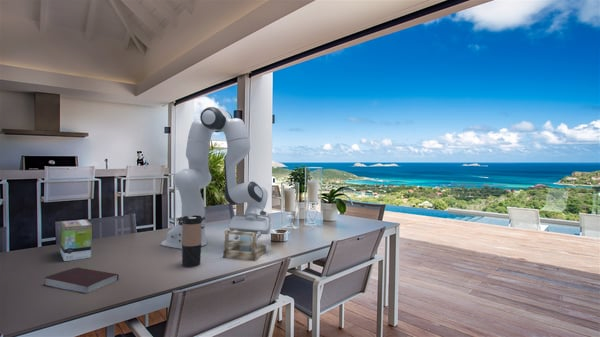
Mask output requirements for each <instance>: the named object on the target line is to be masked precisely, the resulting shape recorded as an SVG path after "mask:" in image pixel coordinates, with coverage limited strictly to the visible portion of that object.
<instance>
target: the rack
mask: <svg viewBox="0 0 600 337" xmlns="http://www.w3.org/2000/svg"><path fill="white" fill-rule="evenodd" d="M235 234H236V235H238V236H240V235H248V236H252V242H243V241H240V240H231V239H230V238H229V237H230V236H229V235H235ZM256 235H257V234H256V233H252V232H240V231H230V230H226V229H225V230H224V250H223V253H222V254H223V258H225V259H233V258H234V260H242V261H243V260H245V261H256V260H258V259H259V258H260V257H261V256H262V255H263V254H264V253H266V250H267V249H266V248H267V245H266V244H265V245H264V244H261V245H260V246H259V247H257V241H256ZM229 239H230V240H229ZM229 244H230V245H231V246H229ZM240 245H249V246H251V252H244V251H239V246H240ZM256 247H257V248H256Z"/></svg>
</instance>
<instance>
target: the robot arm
mask: <svg viewBox="0 0 600 337" xmlns="http://www.w3.org/2000/svg"><path fill="white" fill-rule="evenodd" d="M199 118H200V119H195V120H193V121H192V123H191V125H190V128H189V131H188V135H187V141H186V149H185V157H186V158H187V162H188V168H184V169H181V170H179V171H177V172H176V173H175V175H174V177H173V183H174V184H173V185H174V186H175V187H176V188H177V189H178V193H179V196H180V201H181V202H180V203H181V216H180V217H178V218H177V219H176V222H178V223H177V224H175V225H174V227H173V228H171V229H170V230H168V231H167V233H166V236H165V239H164V240H163V241H161V243H160V245H161V246H164V247H169V248H175V249H181V250H182V225H183V217H184V216H187V217H192V216H193V215H197V216H201V247H204V246H206V245H207V244H208V241H207V238H206V237H207V236H206V233H205V232H206V230H205V226H206V217H205V200H204V199H203V197H202V193H201V190H202V189H204V188H206V187H207V186H209V185H210V184H211V182H212V174H211V172H210V166H209V154H210V147H211V139H212V135H213V133H222V132H223V134H224V136H225V141H226V145H227V148H226V153H225V155H224V159H223V166H224V185H225V186H224V198H225V201H226V202H227V203H228V204H229V205H231V206H236V205H240V204H245V203H246V204H247V206H246V208H245V212H244V213H243V214H239V213H238V214H234V215H233V216H232V218H231V220H230V222H229V224H228V229H229V231H240V232H252V233H256V242H258V240H259V238H261V236H262V235H269V234H270V233H271V227H272V225H271V221H272V218H271V215H270V213H269V212H268V211H264V210H265V208H266V206H267V203H268V196H269V194H268V190H267V189H266V188H265V187H264V186H260V185H259V184H257V182H256V181H247V182H243V183H242V182H241V183H240V184H238V183H237V179H236V178H237V173H236V172H237V171H236V169H237V166H238V164H239V163H240V162H241V161H242V160H243V159H245V158H246V157H247V156H248V154H249V153H250V151H251V141H250V138H249V132H248V130H247V127H246V124H245V122H244V121H243V119H241V118H237V117H233V115H232V114H231V113H230V112H229V111H227V110H224V109H222V108H217V107H215V106H209V107H206V108H204V109H203V110H202V111H201V113H200V116H199ZM233 238H234V241H239V239H240V235H236V234H234V237H233Z"/></svg>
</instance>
